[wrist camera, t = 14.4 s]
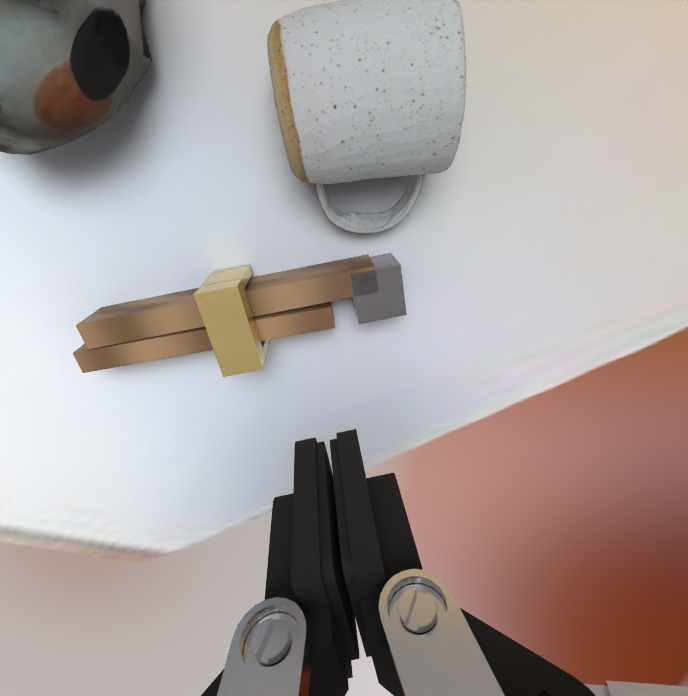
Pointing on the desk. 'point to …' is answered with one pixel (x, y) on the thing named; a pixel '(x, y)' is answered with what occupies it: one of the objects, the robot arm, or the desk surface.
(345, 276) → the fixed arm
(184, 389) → the desk surface
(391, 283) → the block
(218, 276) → the collar
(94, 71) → the lucky cat figurine
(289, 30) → the ceramic mug
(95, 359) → the bar
